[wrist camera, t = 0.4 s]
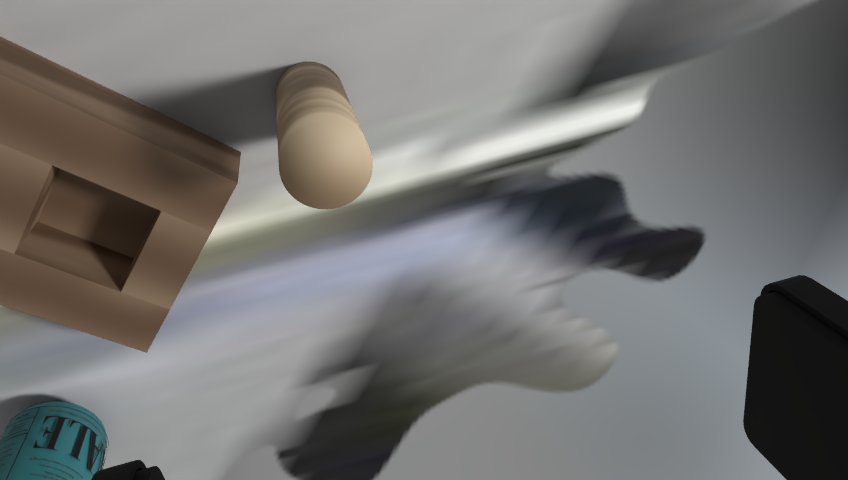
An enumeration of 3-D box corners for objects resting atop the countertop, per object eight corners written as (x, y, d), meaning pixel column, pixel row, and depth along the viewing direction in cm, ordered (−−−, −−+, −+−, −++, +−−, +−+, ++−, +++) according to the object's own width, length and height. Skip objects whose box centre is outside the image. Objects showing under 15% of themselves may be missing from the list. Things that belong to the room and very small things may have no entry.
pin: (295, 48, 37) (306, 104, 27) (356, 83, 39) (389, 148, 28) (263, 109, 38) (262, 184, 28) (323, 140, 40) (344, 223, 29)
